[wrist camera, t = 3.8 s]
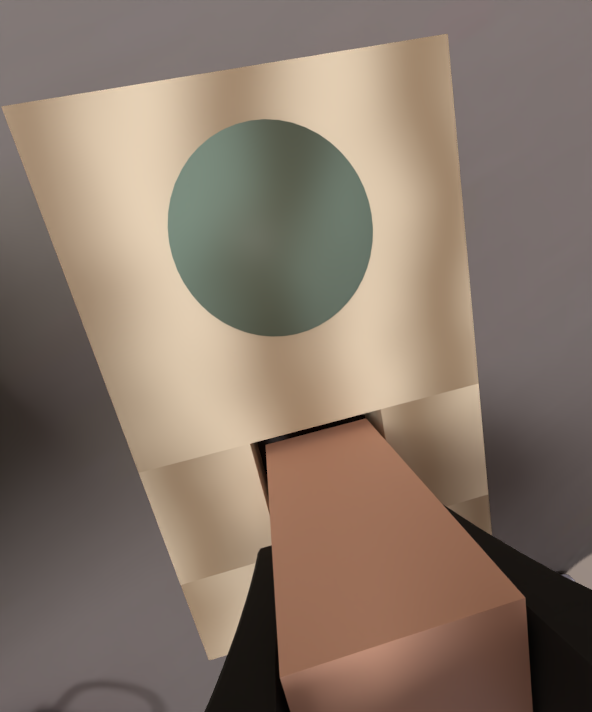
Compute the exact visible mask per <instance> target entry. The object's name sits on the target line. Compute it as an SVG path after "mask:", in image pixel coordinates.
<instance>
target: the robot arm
mask: <svg viewBox="0 0 592 712" xmlns="http://www.w3.org/2000/svg"><path fill="white" fill-rule="evenodd" d="M443 506H444V507H445V508H446V509H447V510H448V511H449V512H450V513H451V515H452V516H453V517H454V518H455V519H456V520H457V521H458V522H459V524H460V525H461V526H462V527H463V528H464V529H465V530H466V531H467V533H468V534H469V535H470V536H471V537H472V538H473V539H474V540H475V542H476V543H477V544H478V545H479V546H480V547H481V548H482V549H483V551H484V552H485V553H486V554H487V555H488V556H489V557H490V558H491V560H492V561H493V562H494V563H495V564H496V565H497V566H498V567H499V569H500V570H501V571H502V572H503V573H504V574H505V575H506V576H507V578H508V579H509V580H510V581H511V582H512V583H513V584H514V585H515V587H516V588H517V589H518V590H519V591H520V592H521V593H522V594H523V596H524V597H525V599H526V615H527V630H528V645H529V660H530V675H531V691H532V706H533V712H592V590H591V589H589V588H587V587H585V586H583V585H581V584H578V583H576V582H575V580H574V579H573V578H572V577H570V576H569V575H567V574H563V575H561V574H559V573H557V572H555V571H553V570H551V569H549V568H547V567H545V566H544V565H542V564H540V563H538V562H536V561H535V560H533V559H531V558H529V557H527V556H525V555H524V554H522V553H520V552H518V551H517V550H515V549H513V548H512V547H510V546H508V545H507V544H505V543H503V542H502V541H500V540H498V539H497V538H495V537H493V536H492V535H490V534H488V533H487V532H485V531H484V530H482V529H480V528H479V527H477V526H476V525H474V524H473V523H471V522H470V521H468V520H466V519H465V518H463V517H462V516H460V515H459V514H457V513H456V512H454V511H453V510H451V509H449V508H448V507H446V506H445V505H443ZM205 712H290V709H289V706H288V703H287V699H286V696H285V693H284V690H283V686H282V683H281V680H280V673H279V656H278V640H277V624H276V607H275V591H274V575H273V558H272V545H271V546H267V547H264V548H260V550H259V552H258V554H257V559H256V564H255V568H254V572H253V576H252V580H251V584H250V588H249V591H248V595H247V598H246V601H245V604H244V608H243V611H242V614H241V617H240V620H239V624H238V627H237V630H236V633H235V635H234V638H233V641H232V644H231V646H230V649H229V652H228V655H227V657H226V660H225V663H224V666H223V668H222V671H221V673H220V676H219V678H218V681H217V684H216V686H215V688H214V691H213V693H212V696H211V698H210V701H209V703H208V705H207V707H206V710H205Z"/></svg>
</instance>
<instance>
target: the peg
mask: <svg viewBox="0 0 592 712" xmlns="http://www.w3.org/2000/svg"><path fill="white" fill-rule="evenodd" d="M266 460H267V477H268V493H269V509H270V526H271V542H272V558H273V575H274V591H275V607H276V624H277V640H278V656H279V673H280V680H281V683H282V686H283V690H284V693H285V696H286V699H287V703H288V706H289V709H290V712H533V706H532V691H531V675H530V660H529V645H528V630H527V615H526V599H525V597H524V596H523V594H522V593H521V592H520V591H519V590H518V589H517V588H516V587H515V585H514V584H513V583H512V582H511V581H510V580H509V579H508V578H507V576H506V575H505V574H504V573H503V572H502V571H501V570H500V569H499V567H498V566H497V565H496V564H495V563H494V562H493V561H492V560H491V558H490V557H489V556H488V555H487V554H486V553H485V552H484V551H483V549H482V548H481V547H480V546H479V545H478V544H477V543H476V542H475V540H474V539H473V538H472V537H471V536H470V535H469V534H468V533H467V531H466V530H465V529H464V528H463V527H462V526H461V525H460V524H459V522H458V521H457V520H456V519H455V518H454V517H453V516H452V515H451V513H450V512H449V511H448V510H447V509H446V508H445V507H444V506H443V504H442V503H441V502H440V501H439V500H438V499H437V498H436V497H435V495H434V494H433V493H432V492H431V491H430V490H429V489H428V488H427V486H426V485H425V484H424V483H423V482H422V481H421V480H420V479H419V477H418V476H417V475H416V474H415V473H414V472H413V471H412V470H411V468H410V467H409V466H408V465H407V464H406V463H405V462H404V461H403V459H402V458H401V457H400V456H399V455H398V454H397V453H396V452H395V450H394V449H393V448H392V447H391V446H390V445H389V444H388V443H387V441H386V440H385V439H384V438H383V437H382V436H381V435H380V434H379V432H378V431H377V430H376V429H375V428H374V427H373V426H372V425H371V423H370V422H369V421H368V420H367V419H366V418H365V419H361V420H358V421H354V422H350V423H346V424H342V425H339V426H335V427H331V428H327V429H324V430H320V431H316V432H312V433H308V434H305V435H301V436H297V437H293V438H289V439H286V440H282V441H278V442H274V443H270V444H267V445H266Z"/></svg>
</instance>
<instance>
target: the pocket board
mask: <svg viewBox="0 0 592 712" xmlns="http://www.w3.org/2000/svg"><path fill="white" fill-rule="evenodd" d="M2 110H3V112H4V115H5V118H6V120H7V123H8V126H9V128H10V131H11V134H12V136H13V139H14V142H15V144H16V147H17V150H18V152H19V155H20V158H21V160H22V163H23V166H24V168H25V171H26V174H27V176H28V179H29V182H30V184H31V187H32V190H33V192H34V195H35V198H36V200H37V203H38V206H39V208H40V211H41V214H42V216H43V219H44V222H45V224H46V227H47V230H48V232H49V235H50V238H51V240H52V243H53V246H54V248H55V251H56V254H57V256H58V259H59V262H60V264H61V267H62V270H63V272H64V275H65V278H66V280H67V283H68V286H69V288H70V291H71V294H72V296H73V299H74V302H75V304H76V307H77V310H78V312H79V315H80V318H81V320H82V323H83V326H84V328H85V331H86V334H87V336H88V339H89V342H90V344H91V347H92V350H93V352H94V355H95V358H96V360H97V363H98V366H99V368H100V371H101V374H102V376H103V379H104V382H105V384H106V387H107V390H108V392H109V395H110V398H111V400H112V403H113V406H114V408H115V411H116V414H117V416H118V419H119V422H120V424H121V427H122V430H123V432H124V435H125V438H126V440H127V443H128V446H129V448H130V451H131V454H132V456H133V459H134V462H135V464H136V467H137V470H138V472H139V475H140V478H141V480H142V483H143V486H144V488H145V491H146V494H147V496H148V499H149V502H150V504H151V507H152V510H153V512H154V515H155V518H156V520H157V523H158V526H159V528H160V531H161V534H162V536H163V539H164V542H165V544H166V547H167V550H168V552H169V555H170V558H171V560H172V563H173V566H174V568H175V571H176V574H177V576H178V579H179V582H180V584H181V587H182V590H183V592H184V595H185V598H186V600H187V603H188V606H189V608H190V611H191V614H192V616H193V619H194V622H195V624H196V627H197V630H198V632H199V635H200V638H201V640H202V643H203V646H204V648H205V651H206V654H207V656H208V659H209V660H212V659H215V658H219V657H222V656H225V655H228V652H229V649H230V646H231V644H232V641H233V638H234V635H235V633H236V630H237V627H238V624H239V620H240V617H241V614H242V611H243V608H244V604H245V601H246V598H247V595H248V591H249V588H250V584H251V580H252V576H253V572H254V568H255V564H256V559H257V554H258V552H259V550H260V548H264V547H267V546H271V545H272V542H271V526H270V509H269V493H268V480H267V476H266V473H265V469H264V465H263V462H262V458H261V454H260V451H259V447H258V443H257V442H258V441H262V440H266V439H270V438H273V437H277V436H281V435H285V434H289V433H292V432H296V431H300V430H304V429H308V428H311V427H315V426H319V425H323V424H327V423H330V422H334V421H338V420H342V419H346V418H349V417H353V416H357V415H361V414H365V418H366V419H367V420H368V421H369V422H370V423H371V425H372V426H373V427H374V428H375V429H376V430H377V431H378V432H379V434H380V435H381V436H382V437H383V438H384V439H385V440H386V441H387V443H388V444H389V445H390V446H391V447H392V448H393V449H394V450H395V452H396V453H397V454H398V455H399V456H400V457H401V458H402V459H403V461H404V462H405V463H406V464H407V465H408V466H409V467H410V468H411V470H412V471H413V472H414V473H415V474H416V475H417V476H418V477H419V479H420V480H421V481H422V482H423V483H424V484H425V485H426V486H427V488H428V489H429V490H430V491H431V492H432V493H433V494H434V495H435V497H436V498H437V499H438V500H439V501H440V502H441V503H442V504H443V505H445V506H446V507H448V508H449V509H451V510H453V511H454V512H456V513H457V514H459V515H460V516H462V517H463V518H465V519H466V520H468V521H470V522H471V523H473V524H474V525H476V526H477V527H479V528H480V529H482V530H484V531H485V532H487V533H488V534H490V535H492V530H491V519H490V507H489V496H488V485H487V473H486V462H485V451H484V440H483V428H482V417H481V406H480V394H479V383H478V372H477V360H476V349H475V338H474V327H473V315H472V304H471V293H470V281H469V270H468V259H467V247H466V236H465V225H464V214H463V202H462V191H461V180H460V168H459V157H458V146H457V134H456V123H455V112H454V101H453V89H452V78H451V67H450V55H449V44H448V34H443V35H437V36H431V37H425V38H419V39H413V40H407V41H401V42H394V43H388V44H382V45H376V46H370V47H364V48H358V49H352V50H345V51H339V52H333V53H327V54H321V55H315V56H309V57H302V58H296V59H290V60H284V61H278V62H272V63H266V64H260V65H253V66H247V67H241V68H235V69H229V70H223V71H217V72H211V73H204V74H198V75H192V76H186V77H180V78H174V79H168V80H162V81H155V82H149V83H143V84H137V85H131V86H125V87H119V88H112V89H106V90H100V91H94V92H88V93H82V94H76V95H70V96H63V97H57V98H51V99H45V100H39V101H33V102H27V103H21V104H14V105H8V106H2Z"/></svg>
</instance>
